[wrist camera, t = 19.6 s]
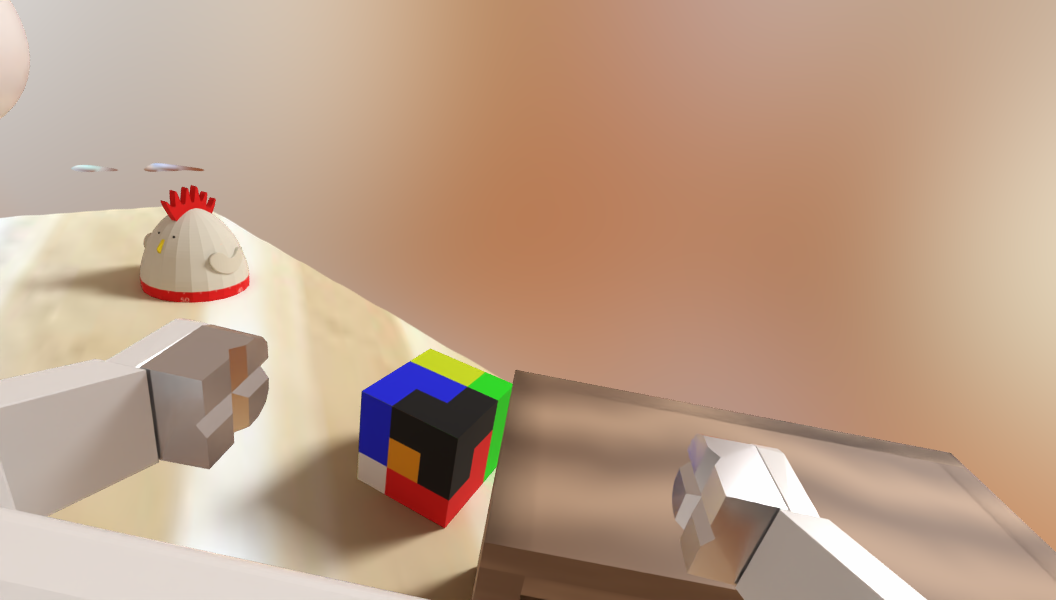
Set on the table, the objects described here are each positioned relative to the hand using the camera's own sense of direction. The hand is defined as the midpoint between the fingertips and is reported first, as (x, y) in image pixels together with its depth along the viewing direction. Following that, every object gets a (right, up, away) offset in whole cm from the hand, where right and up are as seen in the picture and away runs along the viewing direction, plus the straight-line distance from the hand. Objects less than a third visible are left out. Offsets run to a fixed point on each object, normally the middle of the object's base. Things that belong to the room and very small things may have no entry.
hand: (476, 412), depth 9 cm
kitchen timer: (-50, +5, +68) cm, 84 cm away
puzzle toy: (-9, -15, +41) cm, 44 cm away
